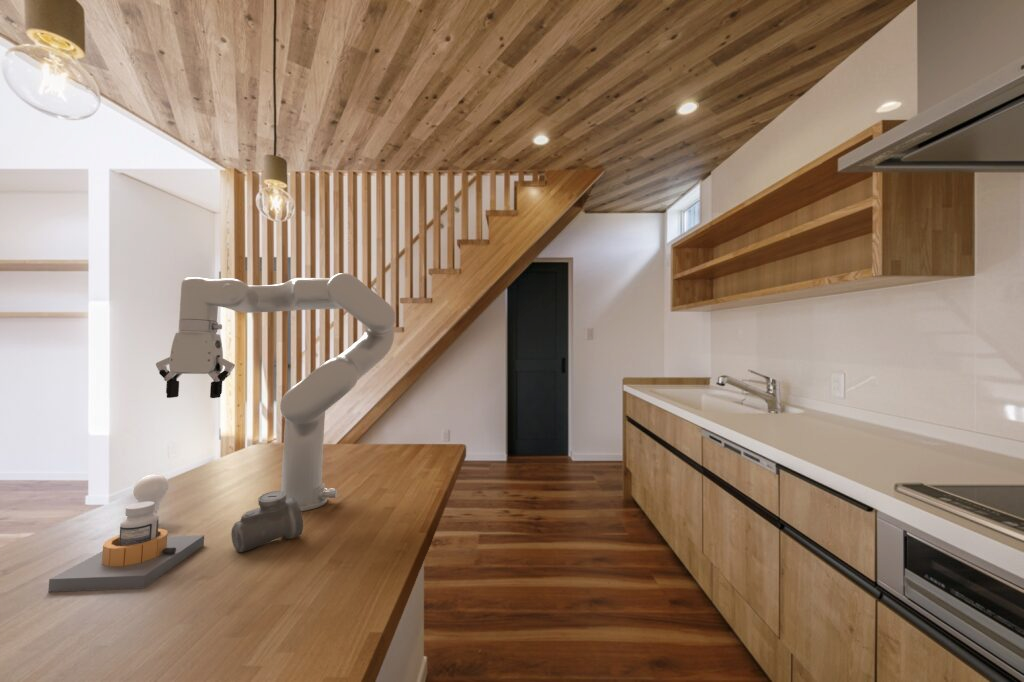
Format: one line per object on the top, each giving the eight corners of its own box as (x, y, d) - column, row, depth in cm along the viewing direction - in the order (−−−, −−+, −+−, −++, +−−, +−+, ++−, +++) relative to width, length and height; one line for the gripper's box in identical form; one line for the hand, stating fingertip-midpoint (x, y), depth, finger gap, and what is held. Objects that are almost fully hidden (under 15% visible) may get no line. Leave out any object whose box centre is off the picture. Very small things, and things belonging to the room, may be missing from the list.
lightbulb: (145, 529, 91) (148, 479, 92) (123, 527, 92) (127, 477, 93) (173, 519, 97) (176, 472, 98) (152, 517, 98) (155, 470, 99)
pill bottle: (134, 547, 78) (137, 500, 79) (164, 547, 79) (166, 499, 79) (109, 561, 73) (113, 510, 73) (141, 560, 73) (144, 509, 74)
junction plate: (203, 545, 84) (205, 520, 84) (143, 587, 68) (145, 556, 69) (127, 547, 83) (129, 522, 83) (48, 591, 67) (50, 560, 67)
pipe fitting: (292, 526, 93) (290, 482, 92) (306, 540, 88) (303, 494, 87) (229, 549, 85) (226, 501, 84) (240, 566, 79) (237, 515, 78)
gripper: (243, 330, 108) (239, 396, 107) (170, 328, 105) (166, 396, 105) (227, 327, 100) (223, 399, 99) (148, 325, 98) (143, 398, 97)
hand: (194, 397), depth 102 cm, fingers open, 9 cm apart
